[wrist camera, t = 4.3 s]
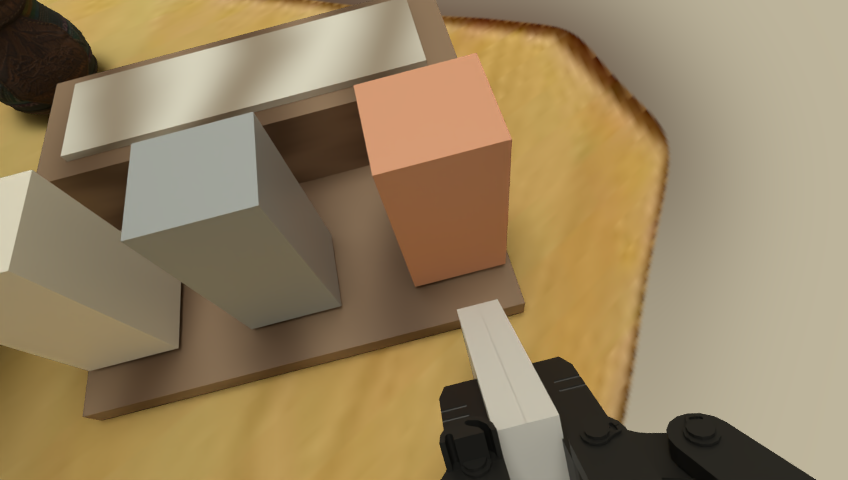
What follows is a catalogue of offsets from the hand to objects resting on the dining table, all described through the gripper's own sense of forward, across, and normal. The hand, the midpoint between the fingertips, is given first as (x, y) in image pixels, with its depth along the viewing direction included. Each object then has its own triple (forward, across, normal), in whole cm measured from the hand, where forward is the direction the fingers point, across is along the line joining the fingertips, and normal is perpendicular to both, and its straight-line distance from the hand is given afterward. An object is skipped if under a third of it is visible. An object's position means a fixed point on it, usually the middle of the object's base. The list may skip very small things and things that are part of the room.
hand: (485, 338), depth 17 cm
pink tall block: (+7, 0, +2) cm, 7 cm away
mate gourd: (+23, -24, +15) cm, 37 cm away
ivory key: (+7, -16, +2) cm, 18 cm away
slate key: (+7, -8, +2) cm, 11 cm away
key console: (+11, -8, +4) cm, 14 cm away
